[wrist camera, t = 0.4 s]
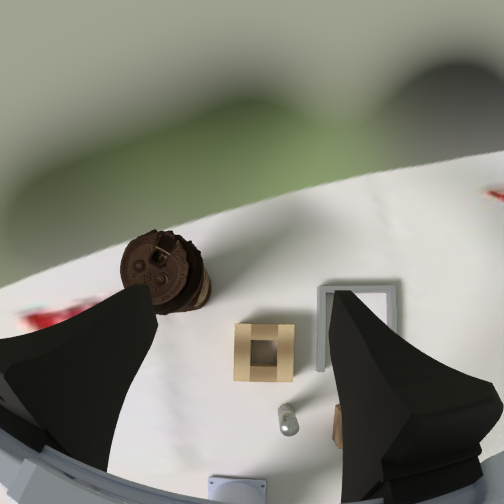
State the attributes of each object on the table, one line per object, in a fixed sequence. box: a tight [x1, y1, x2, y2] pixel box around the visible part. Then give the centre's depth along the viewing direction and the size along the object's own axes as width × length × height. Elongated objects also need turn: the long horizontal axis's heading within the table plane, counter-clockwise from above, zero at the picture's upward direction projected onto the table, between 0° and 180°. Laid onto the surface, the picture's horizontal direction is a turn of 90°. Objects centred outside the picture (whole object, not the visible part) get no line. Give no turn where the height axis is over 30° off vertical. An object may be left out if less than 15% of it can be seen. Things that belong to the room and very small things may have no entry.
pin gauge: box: [278, 404, 299, 436], centre depth 30 cm, size 2×2×7 cm
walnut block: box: [332, 405, 343, 449], centre depth 30 cm, size 5×5×4 cm
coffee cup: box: [120, 229, 211, 315], centre depth 32 cm, size 9×8×13 cm
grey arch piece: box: [316, 285, 397, 372], centre depth 35 cm, size 11×11×2 cm
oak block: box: [233, 323, 294, 382], centre depth 34 cm, size 7×7×3 cm
